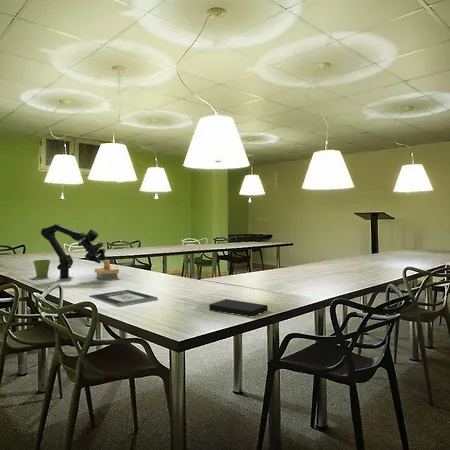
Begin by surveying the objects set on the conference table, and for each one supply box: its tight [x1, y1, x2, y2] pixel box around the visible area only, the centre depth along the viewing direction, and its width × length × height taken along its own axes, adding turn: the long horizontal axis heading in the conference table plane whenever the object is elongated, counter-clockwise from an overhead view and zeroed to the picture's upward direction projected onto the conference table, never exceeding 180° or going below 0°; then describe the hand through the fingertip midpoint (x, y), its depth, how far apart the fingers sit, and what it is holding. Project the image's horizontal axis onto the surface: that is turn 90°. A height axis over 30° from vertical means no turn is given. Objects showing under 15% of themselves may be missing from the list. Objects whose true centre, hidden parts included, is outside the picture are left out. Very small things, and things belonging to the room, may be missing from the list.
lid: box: [94, 259, 120, 274], centre depth 268 cm, size 13×13×8 cm
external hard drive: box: [208, 298, 269, 317], centre depth 181 cm, size 14×23×3 cm, turn 56°
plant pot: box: [32, 259, 52, 278], centre depth 281 cm, size 12×12×11 cm
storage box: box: [96, 273, 118, 281], centre depth 269 cm, size 11×11×6 cm
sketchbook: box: [89, 289, 158, 307], centre depth 207 cm, size 23×32×2 cm
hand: (103, 262), depth 269 cm, fingers open, 9 cm apart
